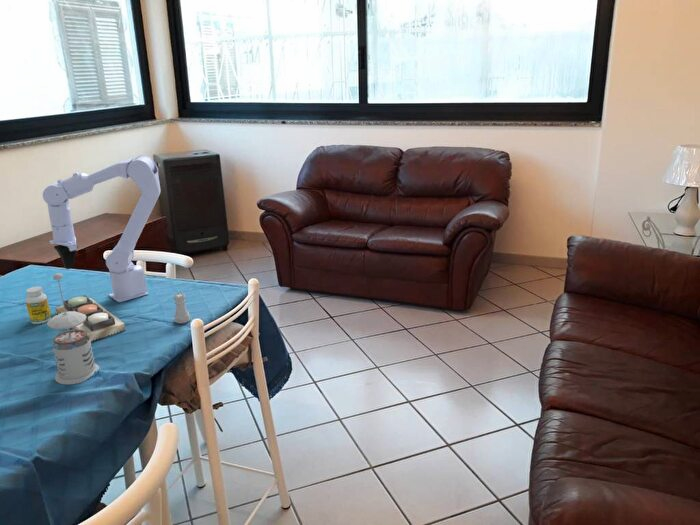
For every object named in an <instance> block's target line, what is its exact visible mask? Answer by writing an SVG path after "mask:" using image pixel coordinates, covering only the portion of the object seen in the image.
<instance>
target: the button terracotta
mask: <svg viewBox="0 0 700 525" xmlns="http://www.w3.org/2000/svg"><path fill="white" fill-rule="evenodd" d="M77 310H78V312H79V313H82V314H87V313H90V312H94V311H97V310H98V309H97V305H94V304H89V305H84V306H81V307H79V308H78V309H77Z"/></svg>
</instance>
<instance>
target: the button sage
mask: <svg viewBox="0 0 700 525" xmlns="http://www.w3.org/2000/svg"><path fill="white" fill-rule="evenodd" d="M86 297H87V296H86ZM86 297H80V296H75V297H72V298H70V299H67V300H68V305H70V306H71V307H72V306H75V305H79V304H82V303H86V302H87V298H86Z"/></svg>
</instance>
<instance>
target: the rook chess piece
mask: <svg viewBox="0 0 700 525" xmlns="http://www.w3.org/2000/svg"><path fill="white" fill-rule="evenodd" d="M186 296H187V295H185V293H184V292H180V293H179V292H177V293H174V296H173V300H175V303H174V304H175V307H176V308H175V313H174V316H173V318H174V323H176V324H180V325H181V324H185V323H188V322H190V320H191V314H190V312H189V311H188V310H187V306H186V298H187V297H186Z"/></svg>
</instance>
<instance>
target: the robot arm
mask: <svg viewBox="0 0 700 525" xmlns="http://www.w3.org/2000/svg"><path fill="white" fill-rule="evenodd" d="M117 177H121V178H123V179H126V180H128V179H129V178H130V179H131V180H132V182H134V184H136V186H138V189H139V190H140V193H141V195H140V196H139V199H138V201H137V203H136V206H135V207H134V210H133V211H132V214H131V216H130V218H129V220H128V221H127V225H126V226H125V228H124V231H123V233H122V234H121V237H120V239H119V240H118V242H117V244H116V245H115V246H114V247H113V249H112V250H111V252H110V253H109V254H108V255H107V257H106V258H105V266H106V267H107V269H108V270H109V276H110V277H109V278H110V282H111V288H112V293H108V296H109V298H111V299H112V300H114V301H116V302H117V303H122V302H126V301H129V300H133V299H136V298H139V297H142V296H143V297H144V296H146V295H149V292H148V288H147V282H146V274H145V271H144V269H143V267H142V266H141V265H140V264H136V265H135V264H134V263H133V262H132V260H133V259H134V257H135V256H134V255H135V252H134V249H135V248H136V245H137V242H138V239H139V238H140V236H141V234H142V232H143V229H144V228H145V226H146V223H147V222H148V219H149V218H150V215H151V213H152V212H153V210H154V207H155V206H156V203H157V201H158V199H159V198H160V197H159V196H160V195H161V192H162V191H161V185H160V184H161V182H160V178H159V167H158V166H157V164H156V163H155V161H154V159H153V158H152V157H150V156H149V155H147V154H146V155H145V154H142V155H138V156H137V157H131V158H126V159H125V160H124V159H123V160H121V161H118V162H116V163H114V164H111V165H109V166H107V167H105V168H102V169H100V170H98V171H95V172H93V173H90V174H88V173H85V172H78V171H76V172H74V173H72V176H70V177H67V178H65V179H62V178H60V179H58V180H56V182H54V183H52V184H50V185H48V186H47V187H45V188H44V189H43V191H42V198H43V201H44V202H45V203H46V204H47V209H48V214H49V215H48V216H49V220H50V228H51V232H52V238H53V239H52V240H49V244H50V245H54V246H53V248H54V249H55V251H56V252H57V253H58V256H59V257H60V260H61V262H62V264H63V266H64V268H65V270H69V269H70V270H71V269H74V268H75V260H76V254H77V251H78V249H79V245H78V244H77V238H76V235H75V228H74V223H73V218H72V212H71V207H70V202H69V200H72V199H75V198H78V197H80V196H83V195H85V194H87V193H91V192H92V191H93V189H94V187H95V185H98V184H101V183H103V182H106V181H110V180H112V179H114V178H117Z"/></svg>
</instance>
